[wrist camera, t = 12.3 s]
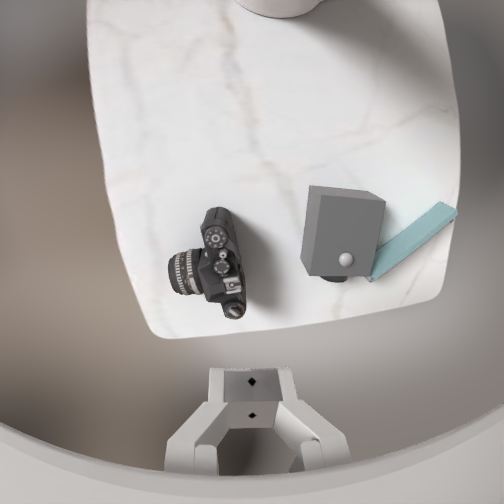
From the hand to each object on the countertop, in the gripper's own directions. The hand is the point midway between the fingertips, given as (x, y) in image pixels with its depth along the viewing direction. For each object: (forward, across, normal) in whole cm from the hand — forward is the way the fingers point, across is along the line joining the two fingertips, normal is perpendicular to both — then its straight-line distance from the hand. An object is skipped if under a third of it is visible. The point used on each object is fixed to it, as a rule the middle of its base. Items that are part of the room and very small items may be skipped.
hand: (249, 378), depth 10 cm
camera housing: (+34, -16, +5) cm, 38 cm away
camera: (+34, +4, +10) cm, 36 cm away
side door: (+34, -30, +6) cm, 45 cm away
